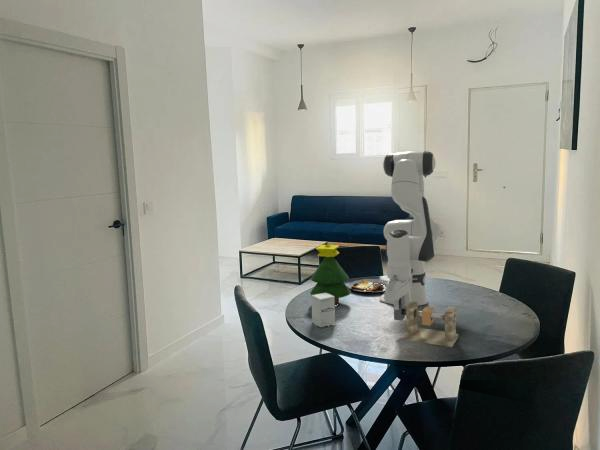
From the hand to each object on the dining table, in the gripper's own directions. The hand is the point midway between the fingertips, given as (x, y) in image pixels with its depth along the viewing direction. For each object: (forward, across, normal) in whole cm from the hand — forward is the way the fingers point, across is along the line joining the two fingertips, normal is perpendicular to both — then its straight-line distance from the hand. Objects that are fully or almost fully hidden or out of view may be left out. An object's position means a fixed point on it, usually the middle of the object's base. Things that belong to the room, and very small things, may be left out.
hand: (399, 307), depth 182 cm
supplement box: (+11, -4, +32) cm, 34 cm away
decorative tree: (+11, +20, +41) cm, 47 cm away
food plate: (+11, +52, +34) cm, 63 cm away
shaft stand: (+11, 0, -12) cm, 16 cm away
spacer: (+5, 0, -11) cm, 12 cm away
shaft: (+5, 0, -9) cm, 11 cm away
